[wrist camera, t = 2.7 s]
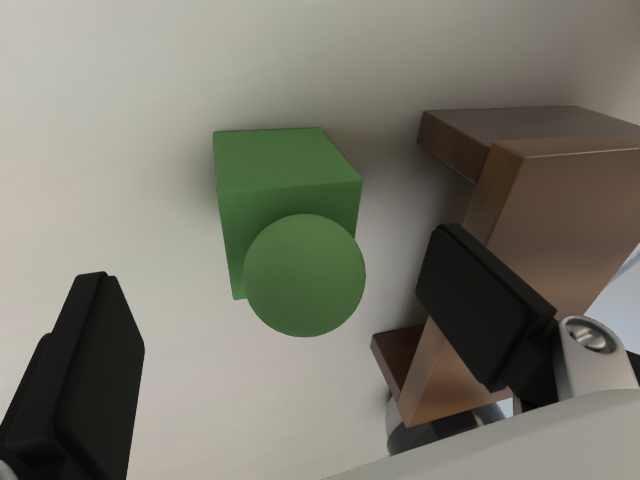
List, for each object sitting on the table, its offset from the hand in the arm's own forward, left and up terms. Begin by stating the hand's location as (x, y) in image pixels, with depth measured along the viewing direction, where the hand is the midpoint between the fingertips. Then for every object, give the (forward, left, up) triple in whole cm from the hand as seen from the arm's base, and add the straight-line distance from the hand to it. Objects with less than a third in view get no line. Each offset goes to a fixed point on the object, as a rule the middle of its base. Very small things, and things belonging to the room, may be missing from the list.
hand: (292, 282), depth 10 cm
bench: (+6, +12, -6) cm, 15 cm away
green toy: (0, 0, -6) cm, 6 cm away
